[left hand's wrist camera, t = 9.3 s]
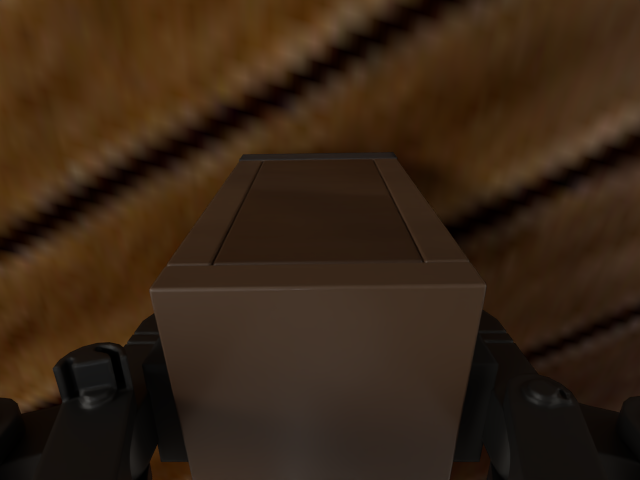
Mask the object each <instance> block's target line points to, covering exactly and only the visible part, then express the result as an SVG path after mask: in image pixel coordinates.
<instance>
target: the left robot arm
mask: <svg viewBox="0 0 640 480" xmlns="http://www.w3.org/2000/svg"><path fill="white" fill-rule="evenodd" d="M53 371H54V375H55V378H56V381H57V385H58V388H59V391H60V395H61V398H62V401H63V402H62V404H61V405H58V406H55V407H51V408H46V409H42V410H37V411H33V412H28V413H24V414H21V412H20V409H19V407H18V404H17V403H16V402H15V401H13V400H12V399H8V398H0V480H152V472H151V467H150V460H151V457H152V455H153V453H154V451H155V449H156V446H157V444H158V449H159V454H160V459H161V462H189V461H188V457H187V452H186V448H185V444H184V439H183V435H182V431H181V426H180V422H179V418H178V413H177V409H176V404H175V400H174V396H173V391H172V387H171V383H170V378H169V374H168V370H167V365H166V361H165V357H164V352H163V348H162V344H161V339H160V335H159V331H158V326H157V322H156V318H155V313H154V314H152V315H151V316H150V317H148V318H147V319H145V320H144V321H143V322H142V323H141V324H140V326H139V327H138V328H137V330H136V331H135V334H134V335H132V337H131V338H130V339H129V341H128V342H127V344H126V345H125V346H124V347H122V346H121V345H120V344H115V343H110V342H106V343H95V344H91V345H87V346H83V347H81V348H79V349H77V350H74V351H72V352H70V353H69V354H67V355H66V356H64V357H63V358H62V359H60V360H59V361H58V362H57V364H56V365H55V366H54V368H53ZM483 444H484V446H485V448H486V450H487V452H488V455H489V457H490V459H491V462H490V467H489V471H488V476H487V480H640V396H636V397H630V398H628V399H627V400H626V401H624V402H623V405H622V408H621V411H620V413H619V412H615V411H611V410H606V409H602V408H597V407H593V406H588V405H585V404H581V403H578V401H577V400H576V398H575V397H574V395H573V394H572V392H571V391H569V390H568V389H567V388H566V387H564V386H563V385H562V384H560V383H558V382H556V381H554V380H553V379H551V378H549V377H545V376H542V375H538V373H537V372H536V371H535V369H534V368H533V367H532V365H531V364H530V363H529V361H528V360H527V359H526V357H525V356H524V355H523V353H522V352H521V351H520V349H519V348H518V347H517V345H516V344H515V343H513V340H512V338H511V337H510V336H509V334H508V333H506V330H505V329H504V328H503V326H502V325H501V324H500V322H499V321H498V320H497V319H496V318H494V317H493V316H491V315H490V314H488V313H487V312H485V311H484V310H482V313H481V318H480V324H479V329H478V334H477V339H476V344H475V350H474V355H473V360H472V365H471V370H470V375H469V381H468V386H467V391H466V396H465V401H464V407H463V412H462V417H461V422H460V427H459V433H458V438H457V443H456V448H455V453H454V458H453V462H479V461H480V456H481V451H482V446H483Z"/></svg>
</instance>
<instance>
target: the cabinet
mask: <svg viewBox="0 0 640 480" xmlns="http://www.w3.org/2000/svg"><path fill="white" fill-rule="evenodd" d="M486 287H487V286H486V283H485V282H484V280H483V279H482V278H481V276H480V275H479V273H478V272H477V271H476V269H475V268H474V266H473V265H472V264H471V263H470V262H469V259H468V258H467V257H466V255H465V254H464V252H463V251H462V250H461V248H460V247H459V245H458V244H457V243H456V241H455V240H454V238H453V237H452V236H451V234H450V233H449V231H448V230H447V229H446V227H445V226H444V224H443V223H442V222H441V220H440V219H439V217H438V216H437V215H436V213H435V212H434V210H433V209H432V208H431V206H430V205H429V203H428V202H427V201H426V199H425V198H424V196H423V195H422V194H421V192H420V191H419V189H418V188H417V187H416V185H415V184H414V182H413V181H412V180H411V178H410V177H409V175H408V174H407V173H406V171H405V170H404V168H403V167H402V166H401V164H400V163H399V161H398V160H397V157H396V155H395V154H394V153H393V152H388V153H317V154H245V155H242V157H241V158H240V160H239V163H238V164H237V166H236V167H235V168H234V170H233V171H232V173H231V174H230V176H229V177H228V178H227V180H226V181H225V183H224V184H223V185H222V187H221V188H220V190H219V191H218V193H217V194H216V195H215V197H214V198H213V200H212V201H211V203H210V204H209V205H208V207H207V208H206V210H205V211H204V212H203V214H202V215H201V217H200V218H199V220H198V221H197V222H196V224H195V225H194V227H193V228H192V230H191V231H190V232H189V234H188V235H187V237H186V238H185V239H184V241H183V242H182V244H181V245H180V247H179V248H178V249H177V251H176V252H175V254H174V255H173V256H172V258H171V259H170V261H169V262H168V264H167V266H166V267H165V268H164V269H163V271H162V272H161V273H160V275H159V276H158V278H157V279H156V281H155V282H154V283H153V285H152V286H151V288H150V296H151V300H152V304H153V309H154V313H155V318H156V322H157V326H158V331H159V335H160V339H161V344H162V348H163V352H164V357H165V361H166V365H167V370H168V374H169V378H170V383H171V387H172V391H173V396H174V400H175V404H176V409H177V413H178V418H179V422H180V426H181V431H182V435H183V439H184V444H185V448H186V452H187V457H188V461H189V465H190V470H191V474H192V478H193V480H449V479H450V474H451V469H452V464H453V458H454V453H455V448H456V443H457V438H458V433H459V427H460V422H461V417H462V412H463V407H464V401H465V396H466V391H467V386H468V381H469V375H470V370H471V365H472V360H473V355H474V350H475V344H476V339H477V334H478V329H479V324H480V318H481V313H482V308H483V303H484V298H485V293H486Z"/></svg>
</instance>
